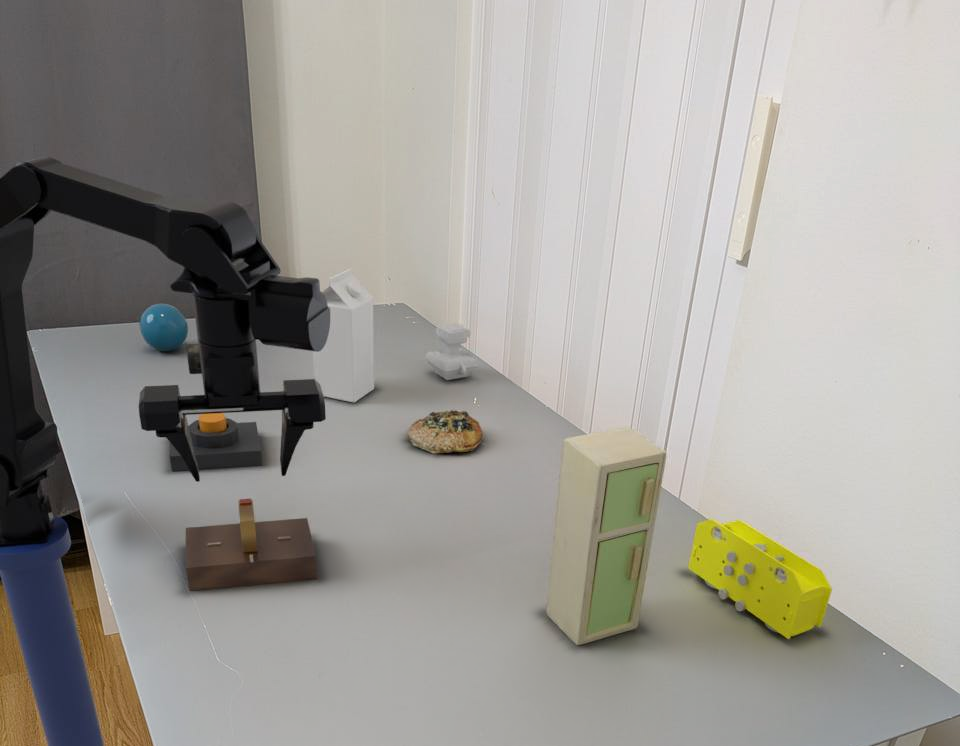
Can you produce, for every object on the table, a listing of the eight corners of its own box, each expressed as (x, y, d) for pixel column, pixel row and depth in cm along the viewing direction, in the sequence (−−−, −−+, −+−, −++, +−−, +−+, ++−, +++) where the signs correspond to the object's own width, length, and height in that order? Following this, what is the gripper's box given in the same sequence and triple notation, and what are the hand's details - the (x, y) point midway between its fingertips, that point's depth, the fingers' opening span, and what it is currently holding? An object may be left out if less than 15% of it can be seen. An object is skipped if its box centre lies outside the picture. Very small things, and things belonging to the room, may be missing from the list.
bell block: (171, 471, 128) (167, 443, 126) (172, 440, 136) (168, 414, 134) (262, 465, 131) (259, 438, 129) (257, 435, 139) (255, 410, 136)
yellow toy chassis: (683, 575, 112) (696, 512, 107) (719, 563, 114) (733, 502, 110) (783, 646, 101) (802, 580, 96) (820, 632, 103) (840, 567, 99)
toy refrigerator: (579, 651, 98) (603, 467, 87) (543, 614, 104) (562, 436, 92) (642, 633, 102) (673, 453, 90) (604, 598, 107) (629, 424, 95)
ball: (144, 343, 169) (137, 298, 164) (190, 341, 171) (185, 297, 166) (142, 358, 163) (134, 312, 158) (190, 357, 164) (184, 310, 160)
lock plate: (189, 591, 104) (185, 567, 102) (188, 549, 111) (185, 526, 110) (317, 579, 107) (315, 555, 106) (308, 539, 115) (307, 516, 113)
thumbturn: (257, 551, 106) (254, 518, 104) (243, 552, 106) (239, 519, 103) (255, 530, 110) (252, 497, 108) (241, 531, 110) (237, 498, 107)
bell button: (200, 434, 129) (198, 422, 128) (199, 424, 132) (198, 412, 131) (227, 433, 130) (226, 421, 129) (226, 422, 133) (224, 411, 132)
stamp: (421, 370, 164) (422, 322, 159) (454, 364, 167) (456, 317, 163) (447, 388, 158) (449, 338, 153) (481, 381, 161) (483, 333, 156)
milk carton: (314, 395, 152) (308, 275, 142) (336, 381, 158) (332, 264, 147) (354, 403, 150) (350, 282, 140) (374, 389, 156) (373, 271, 145)
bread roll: (464, 419, 147) (466, 390, 143) (494, 457, 139) (497, 428, 136) (397, 431, 143) (397, 402, 139) (425, 471, 135) (426, 441, 132)
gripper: (311, 311, 104) (317, 442, 113) (133, 316, 100) (154, 451, 109) (322, 345, 96) (329, 483, 104) (128, 351, 91) (151, 496, 100)
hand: (241, 477), depth 105 cm, fingers open, 9 cm apart
